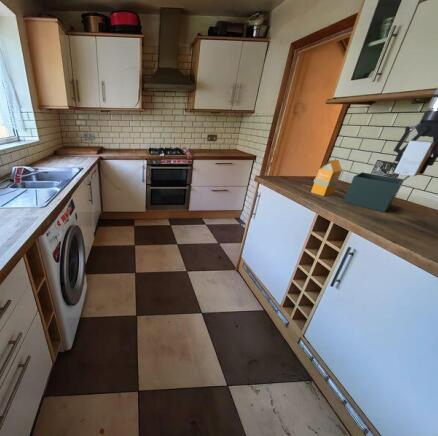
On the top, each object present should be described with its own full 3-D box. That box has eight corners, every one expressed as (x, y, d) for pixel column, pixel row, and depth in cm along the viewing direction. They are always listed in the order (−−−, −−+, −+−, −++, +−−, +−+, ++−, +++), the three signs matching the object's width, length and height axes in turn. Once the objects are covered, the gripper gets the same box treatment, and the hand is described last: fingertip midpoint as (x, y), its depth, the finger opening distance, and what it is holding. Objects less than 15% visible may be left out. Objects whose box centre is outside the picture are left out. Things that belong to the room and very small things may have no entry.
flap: (404, 177, 116) (405, 178, 115) (399, 182, 107) (400, 183, 107) (423, 164, 110) (424, 164, 110) (419, 168, 101) (420, 168, 101)
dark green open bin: (390, 205, 122) (404, 179, 116) (384, 212, 113) (399, 184, 107) (351, 196, 134) (362, 172, 128) (342, 201, 125) (353, 176, 119)
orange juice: (310, 192, 140) (322, 159, 131) (319, 190, 143) (331, 158, 134) (323, 196, 133) (337, 162, 124) (332, 194, 137) (346, 161, 128)
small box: (414, 176, 90) (432, 142, 85) (393, 173, 95) (409, 140, 90) (421, 174, 94) (439, 141, 88) (401, 171, 99) (417, 140, 93)
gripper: (401, 109, 89) (375, 167, 99) (485, 110, 75) (444, 178, 85) (404, 110, 93) (378, 165, 103) (484, 111, 79) (445, 175, 89)
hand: (408, 171), depth 94 cm, fingers closed on small box, 7 cm apart
